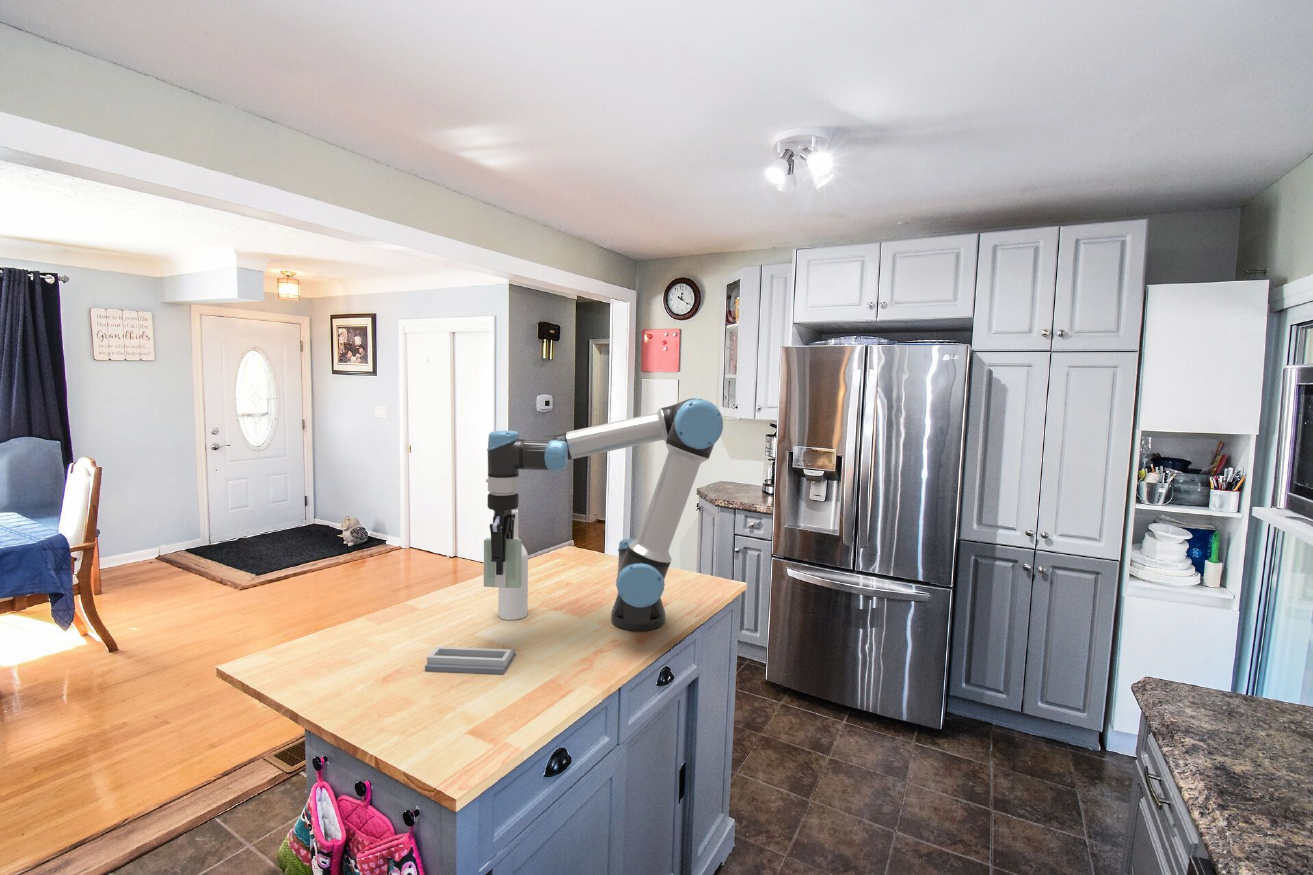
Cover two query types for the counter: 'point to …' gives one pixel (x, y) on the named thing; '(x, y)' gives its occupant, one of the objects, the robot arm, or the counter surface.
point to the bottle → (515, 589)
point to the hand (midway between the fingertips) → (502, 584)
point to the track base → (469, 660)
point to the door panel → (512, 565)
